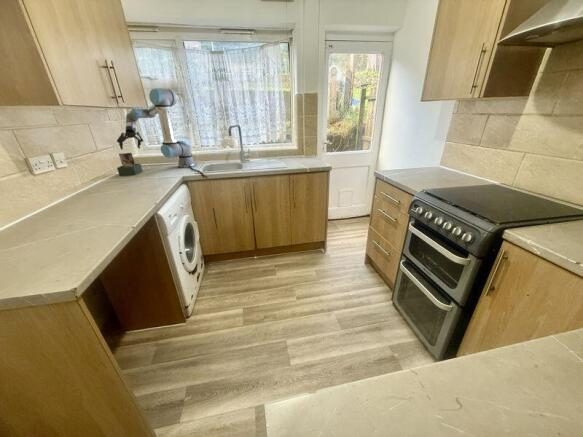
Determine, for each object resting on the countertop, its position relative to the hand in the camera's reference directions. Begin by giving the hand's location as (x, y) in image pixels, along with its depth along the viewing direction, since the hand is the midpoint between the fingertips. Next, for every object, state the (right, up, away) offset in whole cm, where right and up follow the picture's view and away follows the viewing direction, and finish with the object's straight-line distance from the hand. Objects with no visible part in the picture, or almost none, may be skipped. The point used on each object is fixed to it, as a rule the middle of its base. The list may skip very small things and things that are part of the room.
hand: (130, 148), depth 211 cm
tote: (+2, -22, -1) cm, 22 cm away
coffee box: (+2, -22, -1) cm, 22 cm away
